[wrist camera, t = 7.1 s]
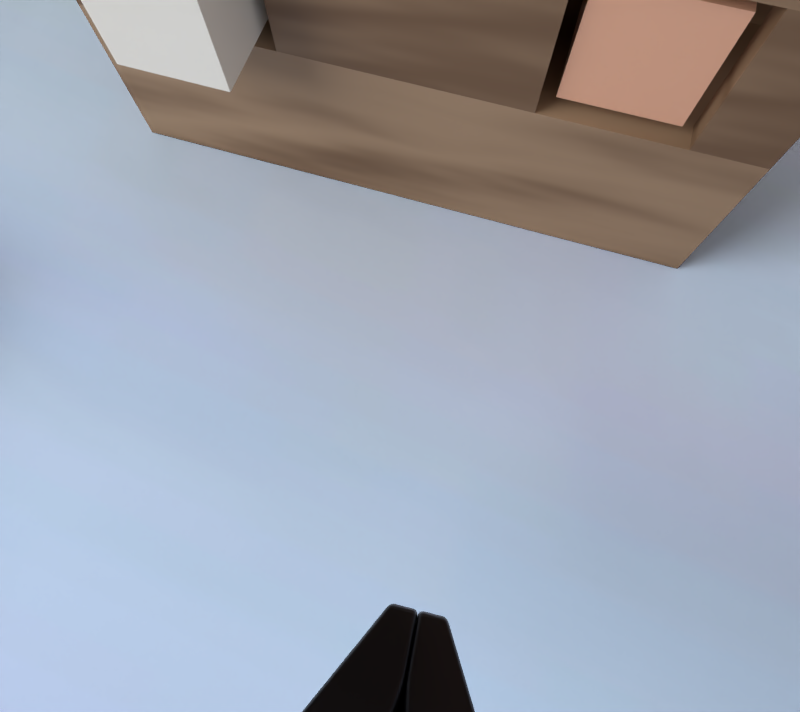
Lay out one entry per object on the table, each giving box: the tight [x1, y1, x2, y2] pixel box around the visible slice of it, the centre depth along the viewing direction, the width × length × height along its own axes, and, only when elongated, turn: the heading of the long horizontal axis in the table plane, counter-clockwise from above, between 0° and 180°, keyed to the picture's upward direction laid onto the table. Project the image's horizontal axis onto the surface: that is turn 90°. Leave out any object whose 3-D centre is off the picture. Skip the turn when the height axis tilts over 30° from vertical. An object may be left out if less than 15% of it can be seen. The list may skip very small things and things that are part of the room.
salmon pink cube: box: [556, 0, 757, 126], centre depth 17 cm, size 4×4×4 cm
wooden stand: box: [76, 0, 800, 268], centre depth 21 cm, size 7×24×13 cm, turn 73°
